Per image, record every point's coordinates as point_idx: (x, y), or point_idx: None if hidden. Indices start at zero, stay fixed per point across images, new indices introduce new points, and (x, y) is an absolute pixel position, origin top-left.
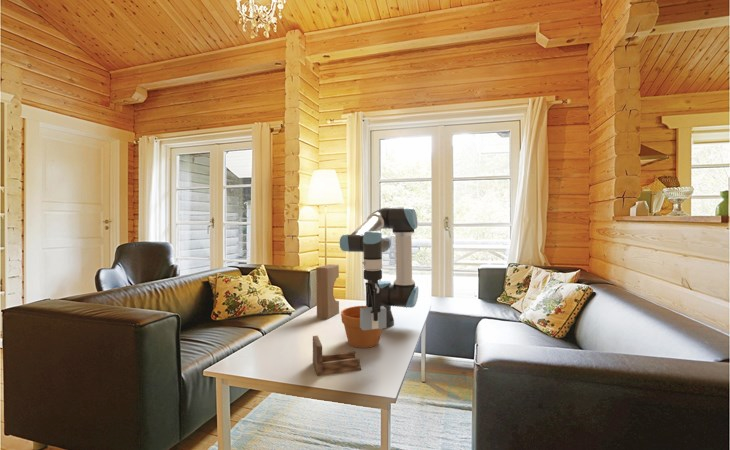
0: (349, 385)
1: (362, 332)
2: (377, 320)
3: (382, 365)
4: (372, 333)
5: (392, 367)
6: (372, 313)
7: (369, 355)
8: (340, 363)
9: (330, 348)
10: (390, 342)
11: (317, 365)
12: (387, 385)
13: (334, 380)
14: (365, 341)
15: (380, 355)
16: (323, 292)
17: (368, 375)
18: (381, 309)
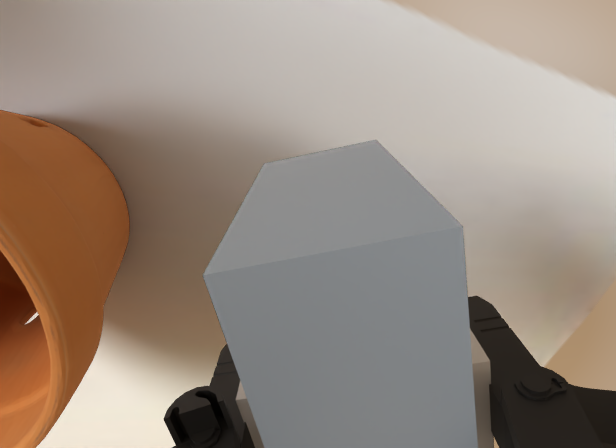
0: (548, 301)
1: (105, 271)
2: (482, 302)
3: (380, 137)
4: (81, 193)
5: (416, 82)
6: (486, 433)
7: (239, 193)
8: None
9: (148, 367)
10: (8, 28)
11: None
12: (609, 142)
13: None
14: (118, 222)
15: (240, 131)
16: None
17: (479, 220)
18: (463, 328)
